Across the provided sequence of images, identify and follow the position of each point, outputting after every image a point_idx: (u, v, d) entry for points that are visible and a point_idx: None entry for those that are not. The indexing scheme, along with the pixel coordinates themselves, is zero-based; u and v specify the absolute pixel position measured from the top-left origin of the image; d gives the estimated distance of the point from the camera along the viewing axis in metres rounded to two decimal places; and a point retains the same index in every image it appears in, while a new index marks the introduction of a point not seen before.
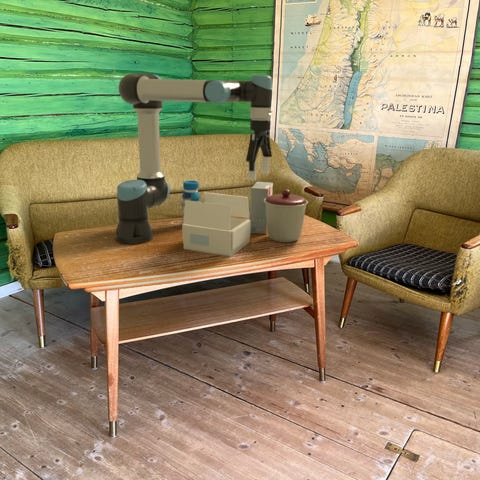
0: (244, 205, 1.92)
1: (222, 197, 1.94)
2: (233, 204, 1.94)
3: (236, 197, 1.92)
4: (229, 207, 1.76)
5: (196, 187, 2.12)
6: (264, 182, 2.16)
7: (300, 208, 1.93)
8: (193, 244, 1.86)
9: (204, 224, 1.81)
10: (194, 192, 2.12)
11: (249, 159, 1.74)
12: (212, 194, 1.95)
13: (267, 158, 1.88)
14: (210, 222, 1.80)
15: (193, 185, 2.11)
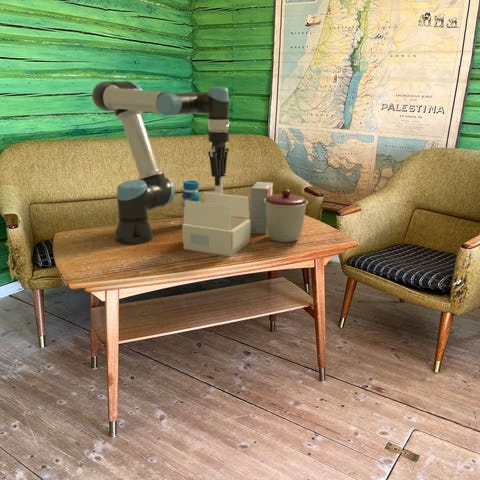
0: (244, 205, 1.92)
1: (222, 197, 1.94)
2: (233, 204, 1.94)
3: (236, 197, 1.92)
4: (229, 207, 1.76)
5: (196, 187, 2.12)
6: (264, 182, 2.16)
7: (300, 208, 1.93)
8: (193, 244, 1.86)
9: (204, 224, 1.81)
10: (194, 192, 2.12)
11: (214, 174, 1.81)
12: (212, 194, 1.95)
13: None
14: (210, 222, 1.80)
15: (193, 185, 2.11)
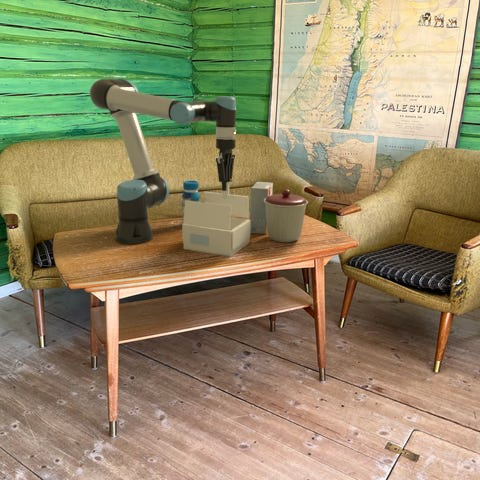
0: (244, 205, 1.92)
1: None
2: (233, 204, 1.94)
3: (237, 196, 1.92)
4: (229, 207, 1.76)
5: (196, 187, 2.12)
6: (264, 182, 2.16)
7: (300, 208, 1.93)
8: (193, 244, 1.86)
9: (204, 224, 1.81)
10: (194, 192, 2.12)
11: (221, 180, 1.88)
12: (213, 193, 1.96)
13: None
14: (210, 222, 1.80)
15: (193, 185, 2.11)
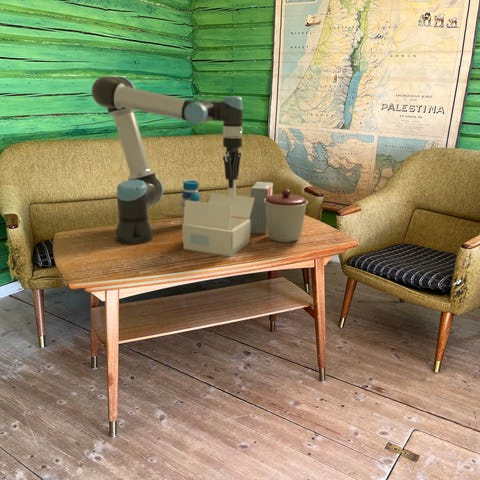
0: (248, 205, 1.96)
1: (229, 197, 2.00)
2: (237, 204, 1.98)
3: (243, 197, 1.98)
4: (229, 207, 1.76)
5: (196, 187, 2.12)
6: (264, 182, 2.16)
7: (300, 208, 1.93)
8: (193, 244, 1.86)
9: (204, 224, 1.81)
10: (194, 192, 2.12)
11: (228, 177, 1.94)
12: (219, 194, 2.02)
13: None
14: (210, 222, 1.80)
15: (193, 185, 2.11)
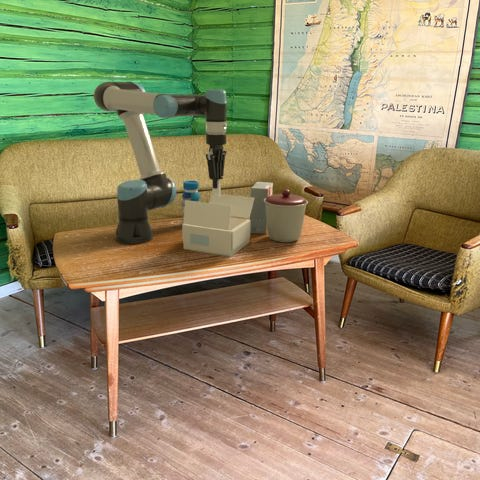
0: (248, 205, 1.96)
1: (229, 197, 2.00)
2: (237, 204, 1.98)
3: (243, 197, 1.98)
4: (229, 207, 1.76)
5: (196, 187, 2.12)
6: (264, 182, 2.16)
7: (300, 208, 1.93)
8: (193, 244, 1.86)
9: (204, 224, 1.81)
10: (194, 192, 2.12)
11: (212, 177, 1.80)
12: None
13: None
14: (210, 222, 1.80)
15: (193, 185, 2.11)
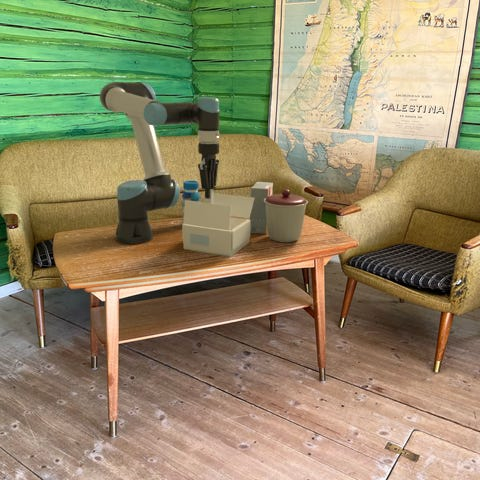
0: (248, 205, 1.96)
1: (229, 197, 2.00)
2: (237, 204, 1.98)
3: (243, 197, 1.98)
4: (229, 207, 1.76)
5: (196, 187, 2.12)
6: (264, 182, 2.16)
7: (300, 208, 1.93)
8: (193, 244, 1.86)
9: (204, 224, 1.81)
10: (194, 192, 2.12)
11: (204, 187, 1.75)
12: (219, 194, 2.02)
13: None
14: (210, 222, 1.80)
15: (193, 185, 2.11)
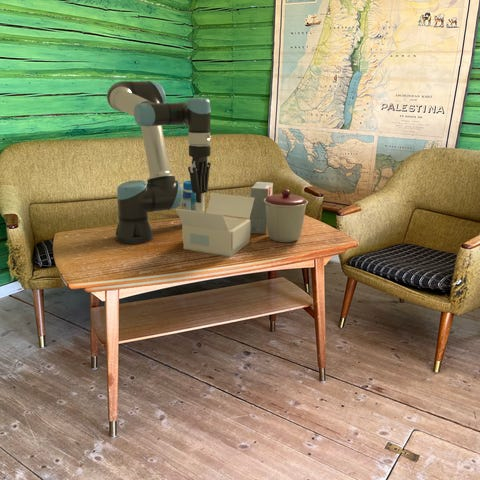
0: (248, 205, 1.96)
1: (229, 197, 2.00)
2: (237, 204, 1.98)
3: (243, 197, 1.98)
4: (221, 216, 1.71)
5: None
6: (264, 182, 2.16)
7: (300, 208, 1.93)
8: (193, 244, 1.86)
9: (203, 226, 1.80)
10: None
11: (195, 191, 1.69)
12: (219, 194, 2.02)
13: None
14: (208, 225, 1.79)
15: None
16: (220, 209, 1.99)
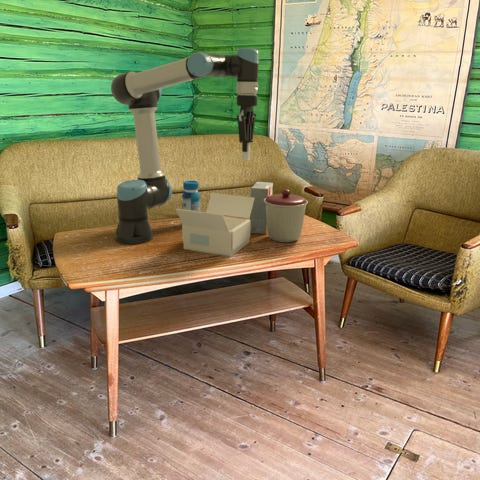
0: (248, 205, 1.96)
1: (229, 197, 2.00)
2: (237, 204, 1.98)
3: (243, 197, 1.98)
4: (221, 216, 1.71)
5: (196, 187, 2.12)
6: (264, 182, 2.16)
7: (300, 208, 1.93)
8: (193, 244, 1.86)
9: (203, 226, 1.80)
10: (194, 192, 2.12)
11: (242, 140, 1.76)
12: (219, 194, 2.02)
13: None
14: (208, 225, 1.79)
15: (193, 185, 2.11)
16: (220, 209, 1.99)
